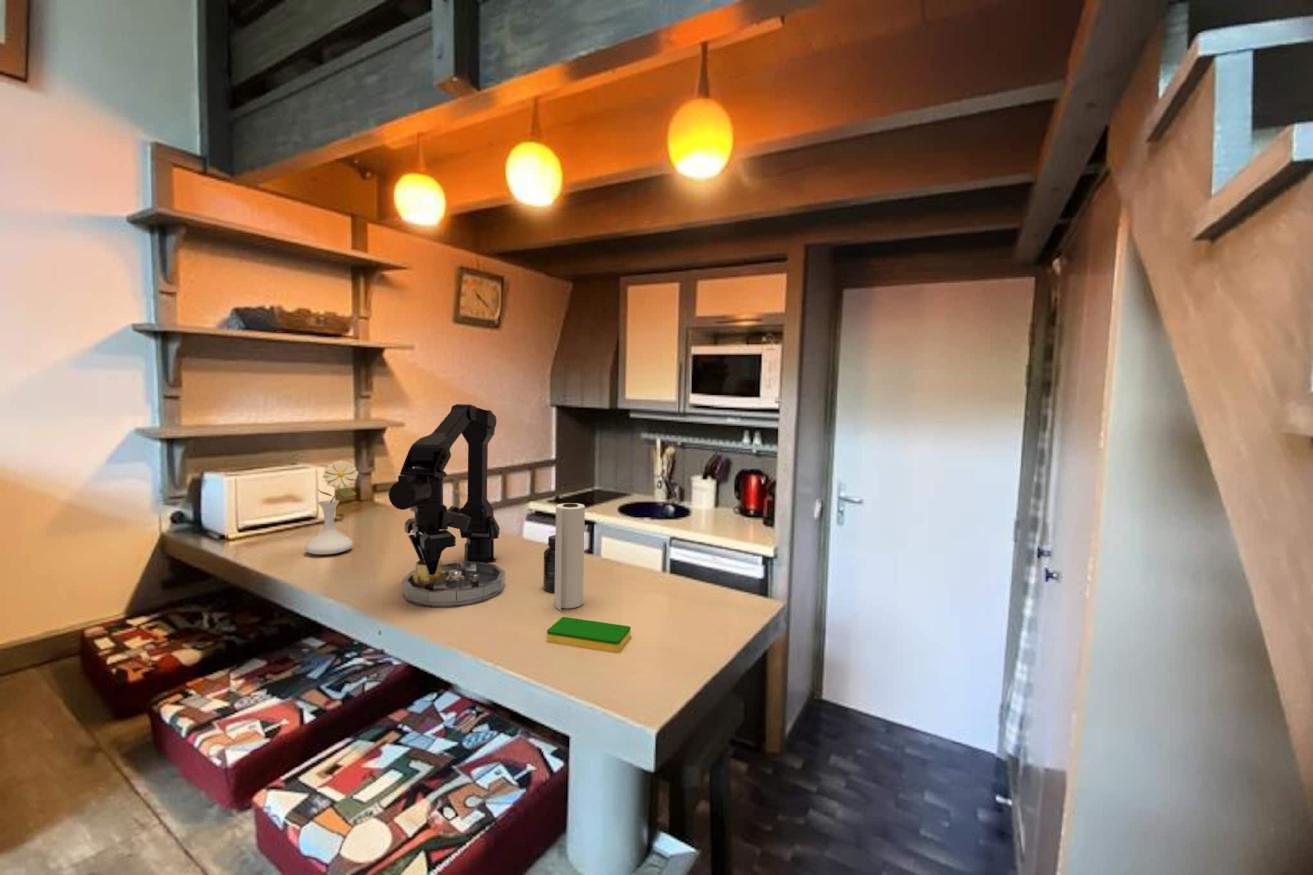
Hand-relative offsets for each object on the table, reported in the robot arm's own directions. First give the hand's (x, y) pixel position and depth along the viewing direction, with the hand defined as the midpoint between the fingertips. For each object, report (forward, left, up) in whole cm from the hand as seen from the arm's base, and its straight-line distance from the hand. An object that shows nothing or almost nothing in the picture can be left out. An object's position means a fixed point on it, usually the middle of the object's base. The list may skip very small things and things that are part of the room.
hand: (429, 571), depth 122 cm
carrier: (-5, 0, -5) cm, 8 cm away
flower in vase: (+13, -46, -5) cm, 48 cm away
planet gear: (0, 0, -2) cm, 2 cm away
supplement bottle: (-25, +11, -5) cm, 28 cm away
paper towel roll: (-22, +21, -5) cm, 31 cm away
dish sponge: (-18, +38, -6) cm, 43 cm away
